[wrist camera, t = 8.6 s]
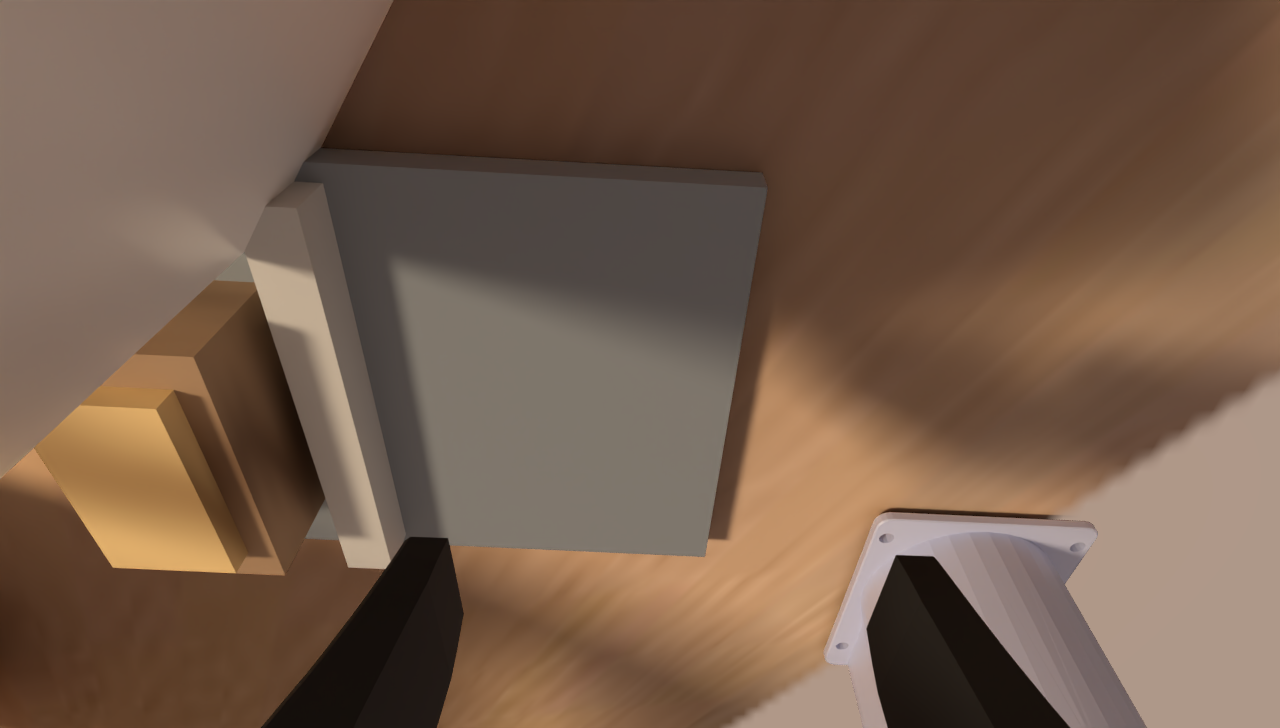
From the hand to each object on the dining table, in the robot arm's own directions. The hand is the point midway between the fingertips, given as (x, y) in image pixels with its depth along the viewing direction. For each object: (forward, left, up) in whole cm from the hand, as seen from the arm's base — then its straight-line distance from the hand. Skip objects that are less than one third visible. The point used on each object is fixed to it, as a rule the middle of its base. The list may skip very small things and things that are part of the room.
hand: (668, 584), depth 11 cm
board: (-3, +8, -10) cm, 13 cm away
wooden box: (-4, +13, -9) cm, 16 cm away
